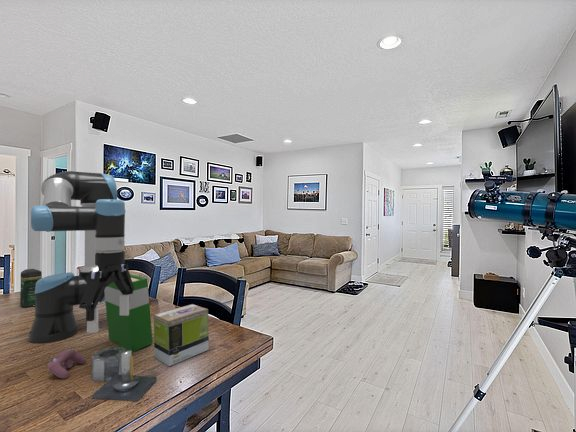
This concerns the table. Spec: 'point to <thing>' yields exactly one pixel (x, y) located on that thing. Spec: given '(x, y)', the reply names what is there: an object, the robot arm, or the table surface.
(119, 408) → the table surface
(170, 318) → the tea box
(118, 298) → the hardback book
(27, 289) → the coffee jar
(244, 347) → the table surface
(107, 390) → the block
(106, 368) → the hub
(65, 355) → the video game controller
